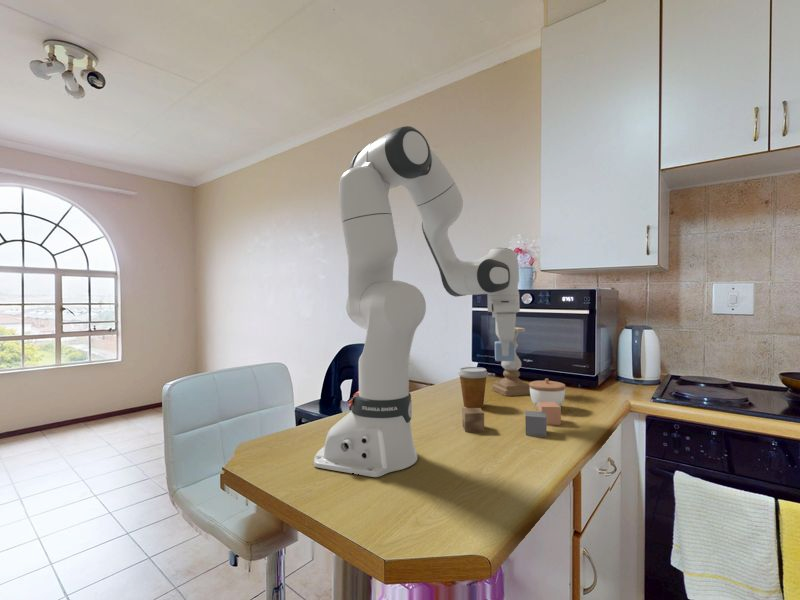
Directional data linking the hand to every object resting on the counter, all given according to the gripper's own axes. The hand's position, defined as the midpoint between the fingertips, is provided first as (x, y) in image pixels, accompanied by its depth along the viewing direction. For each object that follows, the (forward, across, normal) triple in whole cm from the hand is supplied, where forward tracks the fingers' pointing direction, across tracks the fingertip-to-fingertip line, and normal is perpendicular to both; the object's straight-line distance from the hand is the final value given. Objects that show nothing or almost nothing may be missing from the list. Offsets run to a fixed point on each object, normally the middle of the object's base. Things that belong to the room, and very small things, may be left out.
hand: (504, 354), depth 111 cm
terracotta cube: (+19, -1, +12) cm, 23 cm away
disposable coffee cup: (+19, -15, -9) cm, 26 cm away
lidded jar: (+19, -15, +14) cm, 28 cm away
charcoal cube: (+19, +9, +7) cm, 22 cm away
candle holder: (+19, -36, +5) cm, 41 cm away
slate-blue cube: (+2, 0, 0) cm, 2 cm away
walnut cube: (+19, +8, -9) cm, 23 cm away
